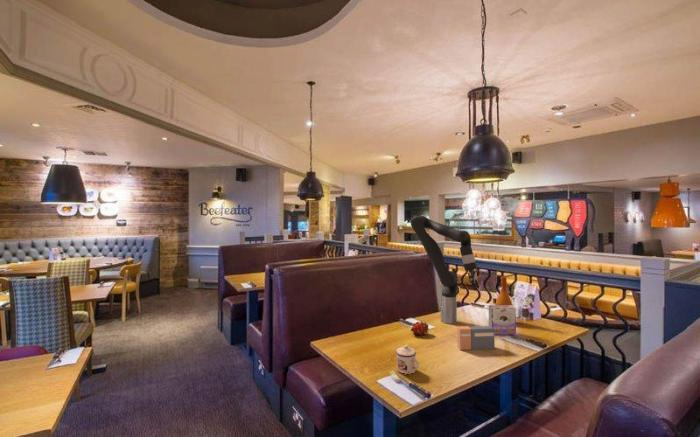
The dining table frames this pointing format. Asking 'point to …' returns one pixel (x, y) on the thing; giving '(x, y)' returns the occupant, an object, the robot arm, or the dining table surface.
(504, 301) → the brown tapered piece
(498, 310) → the candy box
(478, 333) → the gray block
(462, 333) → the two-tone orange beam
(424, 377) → the dining table surface
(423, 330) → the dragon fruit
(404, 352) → the teacup with lid
